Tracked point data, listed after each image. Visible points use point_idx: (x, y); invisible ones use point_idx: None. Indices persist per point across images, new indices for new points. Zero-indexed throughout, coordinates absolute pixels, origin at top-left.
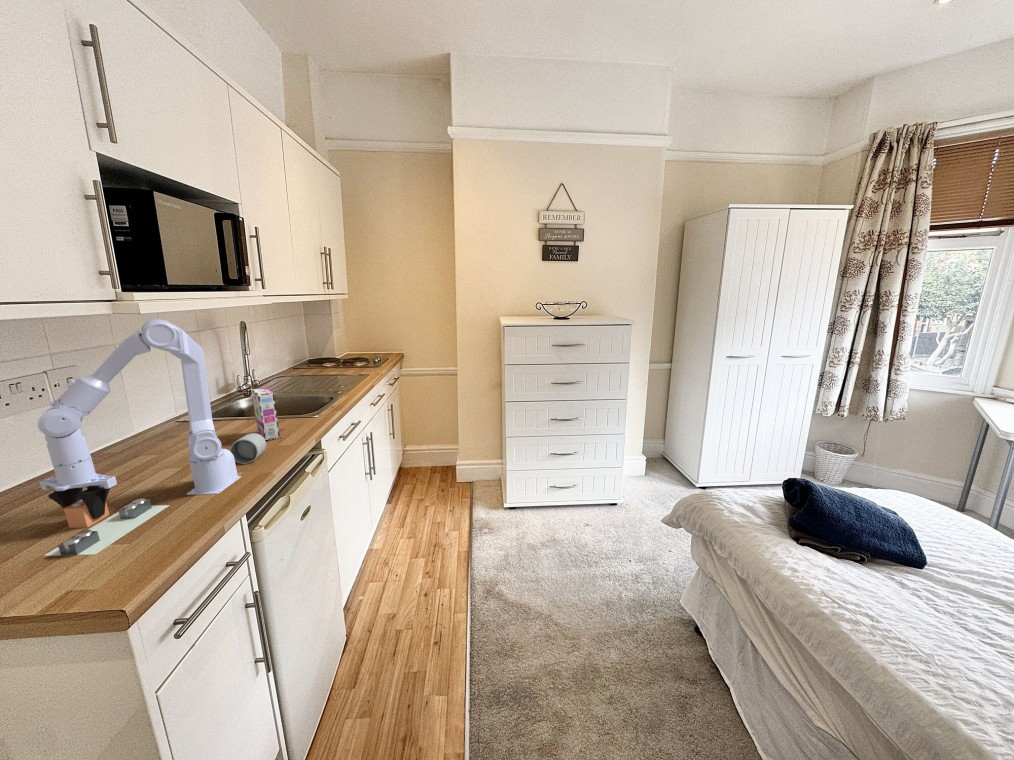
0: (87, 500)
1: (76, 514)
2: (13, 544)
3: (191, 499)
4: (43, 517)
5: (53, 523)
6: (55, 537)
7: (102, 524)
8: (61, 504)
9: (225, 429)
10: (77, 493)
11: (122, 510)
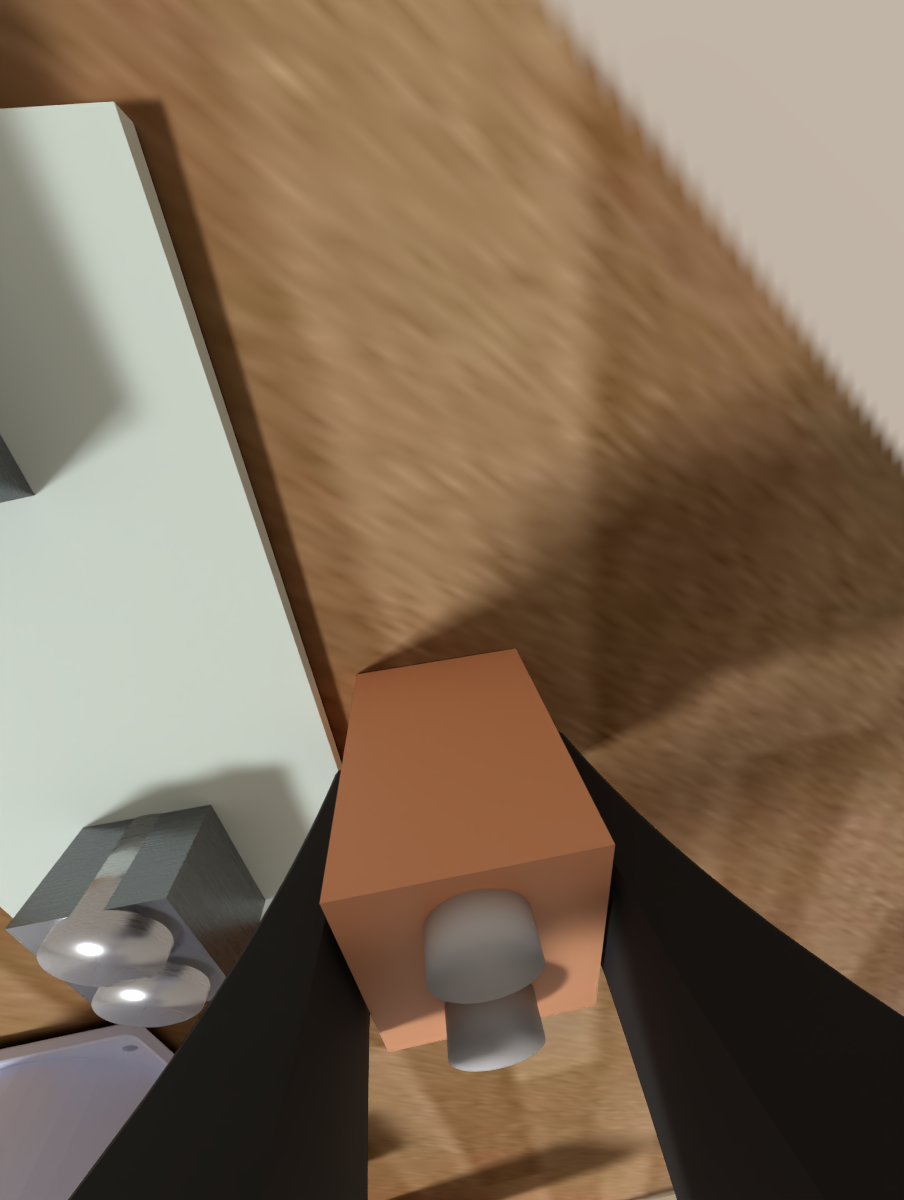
0: (169, 1145)
1: (430, 787)
2: (805, 396)
3: (44, 1005)
4: (860, 723)
5: (729, 686)
6: (510, 538)
7: (262, 731)
8: (708, 912)
9: (626, 1177)
10: (668, 1123)
11: (123, 901)
